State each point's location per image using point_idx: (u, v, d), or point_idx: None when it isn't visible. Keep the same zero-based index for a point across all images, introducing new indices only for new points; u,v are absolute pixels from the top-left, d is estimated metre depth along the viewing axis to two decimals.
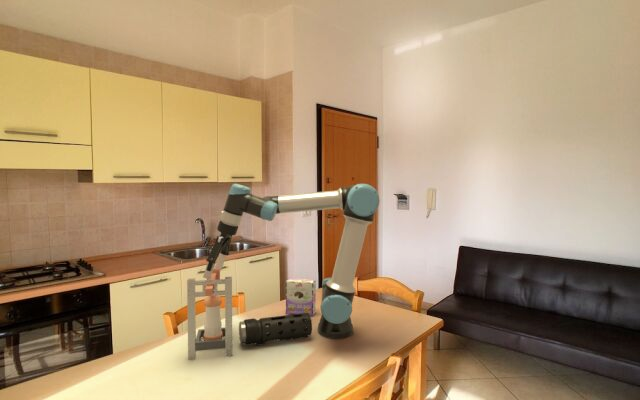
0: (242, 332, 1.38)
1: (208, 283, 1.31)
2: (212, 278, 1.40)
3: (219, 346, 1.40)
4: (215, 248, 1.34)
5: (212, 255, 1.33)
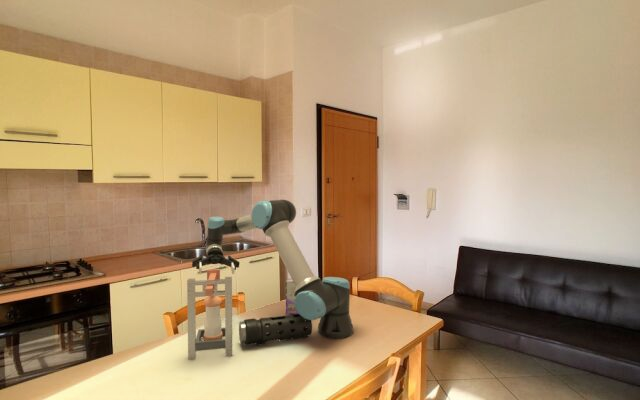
0: (242, 332, 1.38)
1: (208, 283, 1.31)
2: (212, 278, 1.40)
3: (219, 346, 1.40)
4: None
5: None
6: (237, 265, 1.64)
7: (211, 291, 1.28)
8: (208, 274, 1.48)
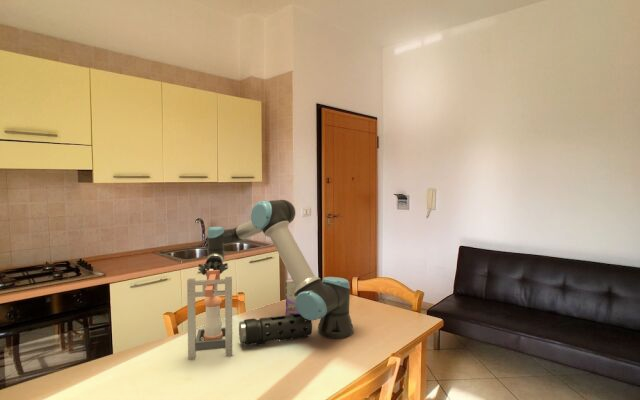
0: (242, 332, 1.38)
1: (208, 283, 1.31)
2: (212, 279, 1.39)
3: (219, 346, 1.40)
4: (201, 269, 1.59)
5: (201, 270, 1.56)
6: None
7: (211, 292, 1.26)
8: (208, 275, 1.46)
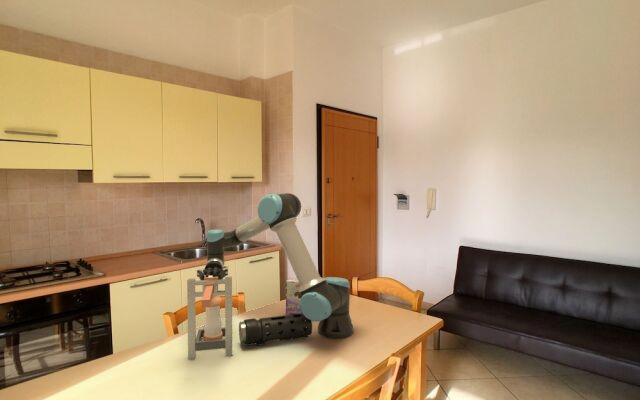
0: (242, 332, 1.38)
1: (208, 283, 1.31)
2: (209, 287, 1.29)
3: (219, 346, 1.40)
4: (199, 275, 1.49)
5: (200, 277, 1.46)
6: None
7: (208, 302, 1.16)
8: None
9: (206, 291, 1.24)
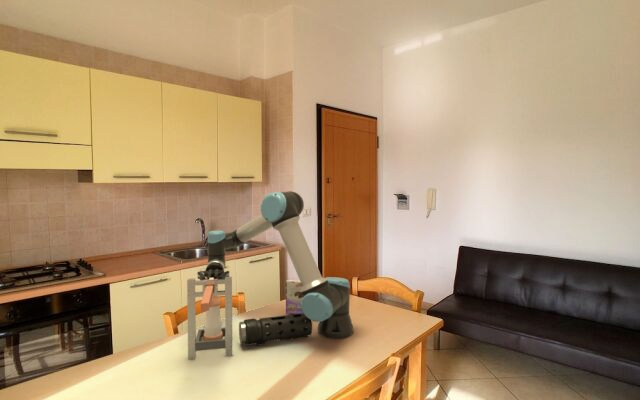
0: (242, 332, 1.38)
1: (208, 283, 1.31)
2: (209, 290, 1.26)
3: (219, 346, 1.40)
4: (200, 277, 1.46)
5: (201, 279, 1.43)
6: None
7: (207, 306, 1.13)
8: None
9: (205, 294, 1.21)
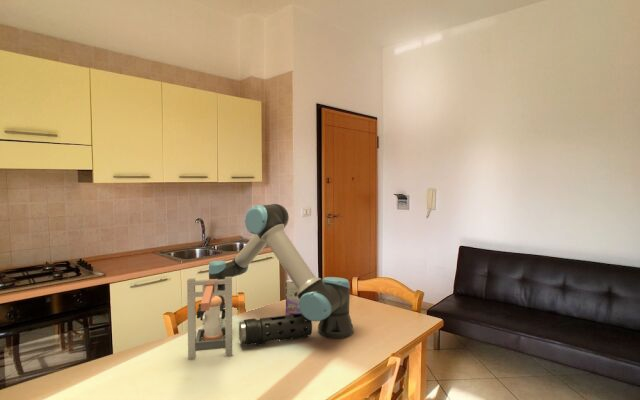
0: (242, 332, 1.38)
1: (208, 283, 1.31)
2: (209, 290, 1.26)
3: (219, 346, 1.40)
4: None
5: None
6: None
7: (207, 306, 1.13)
8: None
9: (205, 294, 1.21)
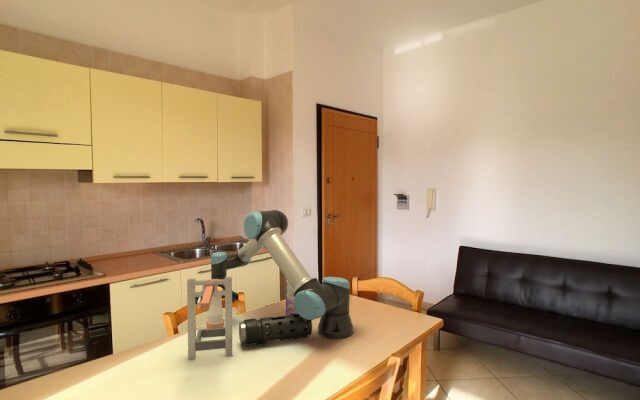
0: (242, 332, 1.38)
1: (208, 283, 1.31)
2: (209, 290, 1.26)
3: (219, 346, 1.40)
4: None
5: None
6: (236, 298, 1.63)
7: (207, 306, 1.13)
8: None
9: (205, 294, 1.21)
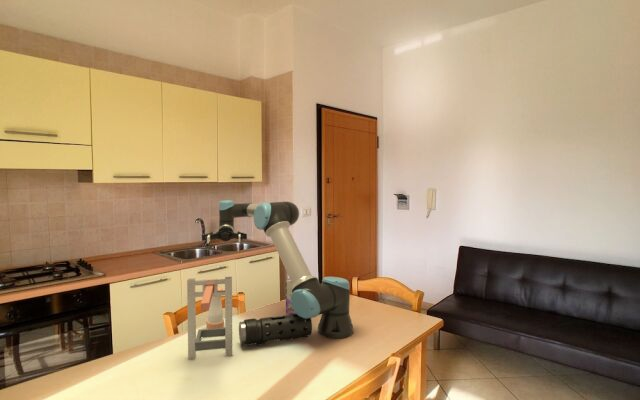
0: (242, 332, 1.38)
1: (208, 283, 1.31)
2: (209, 290, 1.26)
3: (219, 346, 1.40)
4: None
5: None
6: (245, 237, 1.71)
7: (207, 306, 1.13)
8: None
9: (205, 294, 1.21)
